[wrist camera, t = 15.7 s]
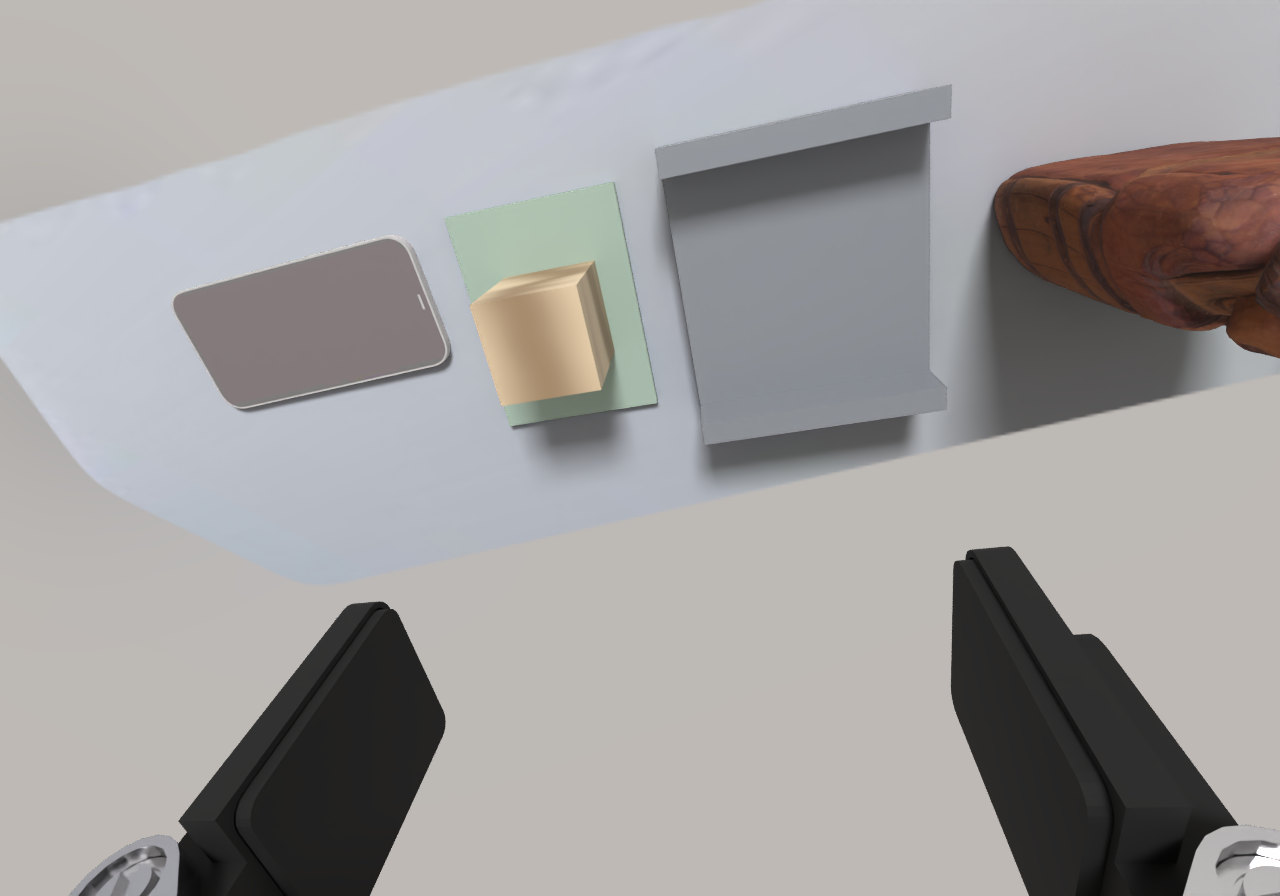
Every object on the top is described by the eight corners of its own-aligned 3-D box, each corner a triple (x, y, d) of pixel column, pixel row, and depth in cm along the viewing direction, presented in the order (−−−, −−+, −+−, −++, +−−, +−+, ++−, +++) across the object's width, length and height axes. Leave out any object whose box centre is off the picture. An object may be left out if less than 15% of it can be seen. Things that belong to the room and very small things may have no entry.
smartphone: (162, 294, 35) (401, 230, 33) (174, 291, 36) (408, 228, 34) (230, 412, 39) (453, 362, 36) (240, 406, 39) (459, 357, 37)
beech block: (594, 260, 33) (576, 285, 28) (614, 350, 35) (601, 390, 30) (504, 277, 34) (469, 305, 28) (529, 365, 36) (501, 406, 30)
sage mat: (613, 181, 32) (613, 182, 31) (657, 400, 37) (657, 403, 36) (447, 217, 33) (444, 218, 32) (511, 423, 38) (509, 426, 38)
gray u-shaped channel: (915, 91, 29) (951, 84, 25) (917, 378, 35) (946, 409, 31) (659, 147, 31) (654, 149, 27) (702, 410, 37) (704, 445, 33)
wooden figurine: (973, 291, 33) (1247, 443, 17) (989, 157, 30) (1335, 185, 14) (1222, 266, 31) (1781, 406, 15) (1262, 123, 29) (1998, 111, 12)
